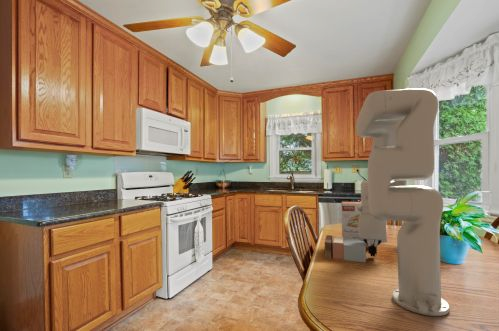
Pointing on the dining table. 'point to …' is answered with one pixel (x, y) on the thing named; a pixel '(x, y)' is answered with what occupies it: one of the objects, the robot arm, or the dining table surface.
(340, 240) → the pink rectangular block
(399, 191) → the robot arm
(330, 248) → the bookend
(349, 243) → the slate block
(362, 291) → the dining table surface
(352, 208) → the cracker box
